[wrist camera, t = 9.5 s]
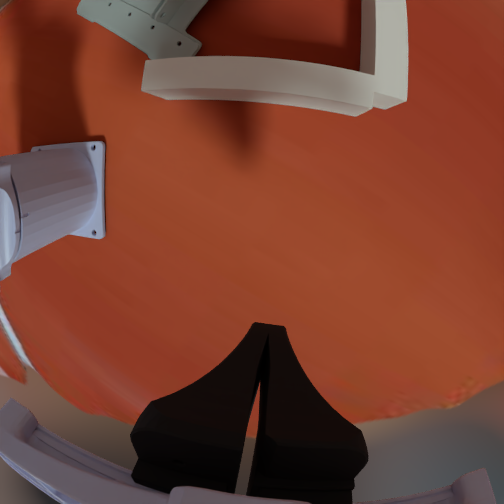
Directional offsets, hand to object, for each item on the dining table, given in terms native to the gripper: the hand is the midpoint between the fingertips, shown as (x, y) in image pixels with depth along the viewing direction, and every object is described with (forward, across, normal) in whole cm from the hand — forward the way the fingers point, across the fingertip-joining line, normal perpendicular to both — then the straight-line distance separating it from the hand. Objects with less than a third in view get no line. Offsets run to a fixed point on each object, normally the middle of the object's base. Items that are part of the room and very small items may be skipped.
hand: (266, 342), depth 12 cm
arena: (+9, +2, -22) cm, 24 cm away
